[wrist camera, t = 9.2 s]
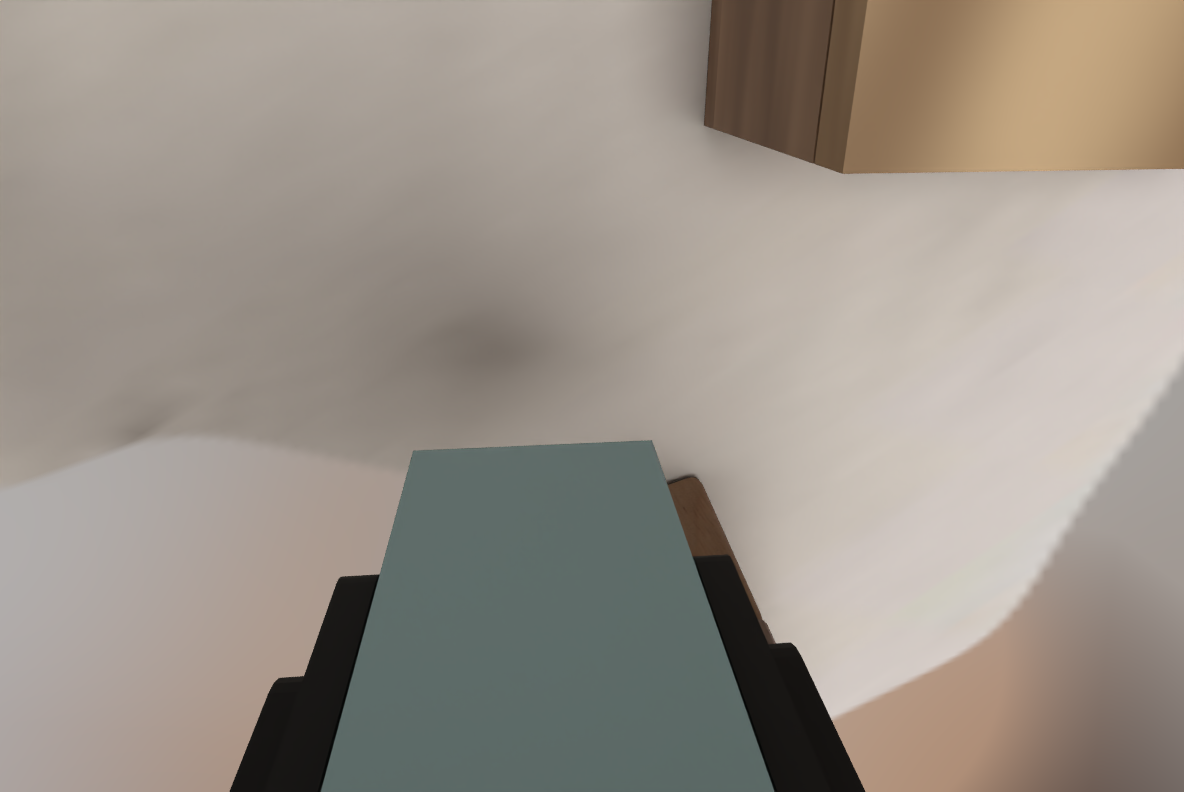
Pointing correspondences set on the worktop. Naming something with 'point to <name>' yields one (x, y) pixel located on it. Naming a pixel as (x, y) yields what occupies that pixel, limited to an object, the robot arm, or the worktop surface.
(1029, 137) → the lid
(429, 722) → the teal rectangular block
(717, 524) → the wooden block structure
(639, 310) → the worktop surface
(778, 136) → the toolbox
